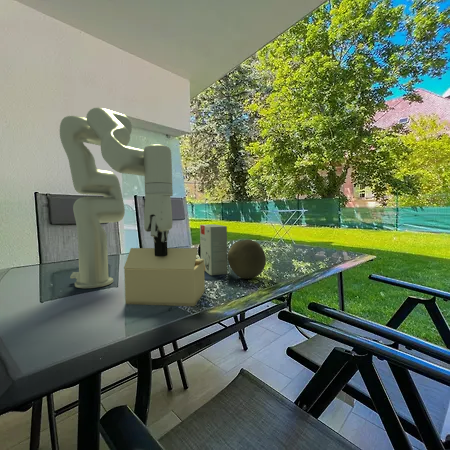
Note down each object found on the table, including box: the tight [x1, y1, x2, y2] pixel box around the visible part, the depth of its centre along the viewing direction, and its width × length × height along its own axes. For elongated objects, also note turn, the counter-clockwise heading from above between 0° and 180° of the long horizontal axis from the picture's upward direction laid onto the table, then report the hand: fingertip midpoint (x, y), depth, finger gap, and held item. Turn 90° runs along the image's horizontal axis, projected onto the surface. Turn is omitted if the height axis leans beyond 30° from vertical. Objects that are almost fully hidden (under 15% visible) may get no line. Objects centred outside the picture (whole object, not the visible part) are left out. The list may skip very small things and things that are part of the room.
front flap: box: [123, 247, 198, 270], centre depth 77 cm, size 20×7×1 cm
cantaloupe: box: [227, 239, 267, 280], centre depth 102 cm, size 14×14×15 cm
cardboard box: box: [123, 261, 206, 307], centre depth 82 cm, size 20×14×10 cm
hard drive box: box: [199, 223, 228, 276], centre depth 117 cm, size 16×8×20 cm, turn 21°
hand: (161, 255), depth 77 cm, fingers closed
